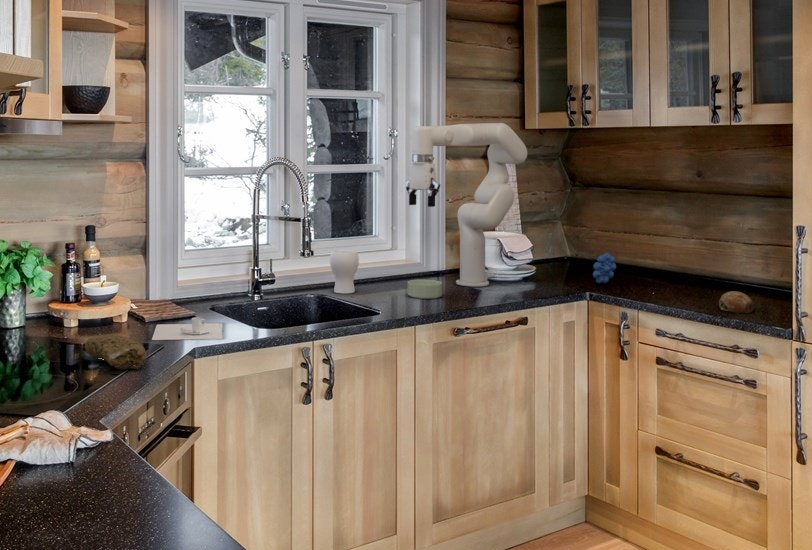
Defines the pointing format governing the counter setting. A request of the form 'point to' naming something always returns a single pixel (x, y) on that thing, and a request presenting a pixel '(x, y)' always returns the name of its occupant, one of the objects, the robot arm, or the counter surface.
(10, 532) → the counter surface
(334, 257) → the cup
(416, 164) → the robot arm
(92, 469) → the counter surface
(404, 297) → the counter surface
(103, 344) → the sponge
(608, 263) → the grapes
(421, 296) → the bowl
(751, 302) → the bread roll
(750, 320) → the counter surface
